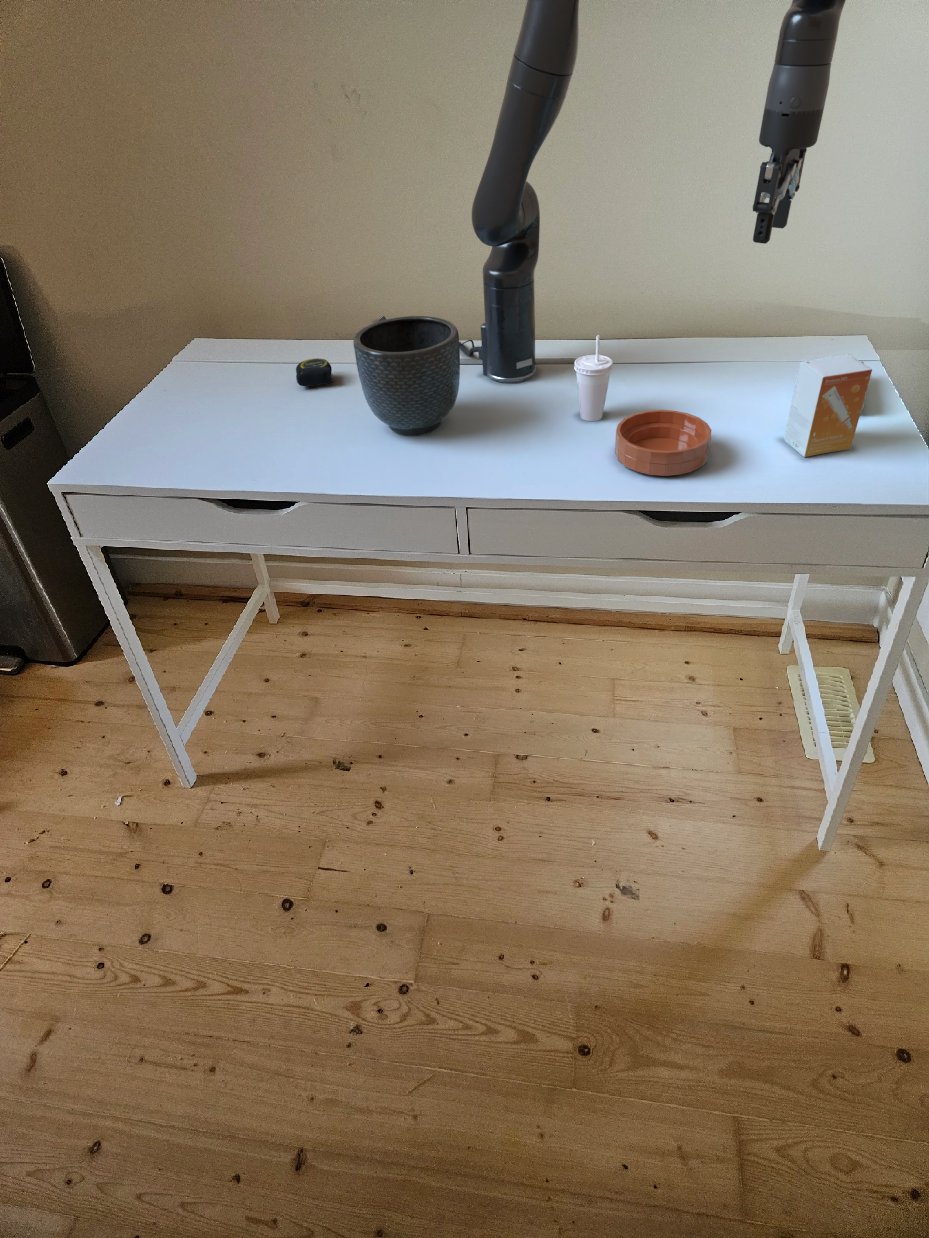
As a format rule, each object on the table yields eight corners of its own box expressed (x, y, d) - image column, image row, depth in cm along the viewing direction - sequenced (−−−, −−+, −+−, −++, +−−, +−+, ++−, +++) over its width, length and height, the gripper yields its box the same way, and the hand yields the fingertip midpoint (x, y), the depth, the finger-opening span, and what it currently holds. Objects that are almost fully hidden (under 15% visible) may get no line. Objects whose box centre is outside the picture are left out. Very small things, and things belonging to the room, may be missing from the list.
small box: (804, 458, 124) (822, 376, 116) (782, 440, 129) (798, 360, 121) (852, 450, 125) (873, 368, 117) (829, 432, 130) (848, 352, 122)
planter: (349, 441, 139) (333, 349, 129) (392, 399, 151) (381, 312, 141) (441, 453, 133) (433, 358, 123) (479, 408, 145) (473, 319, 135)
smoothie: (609, 425, 137) (613, 343, 128) (571, 424, 138) (572, 343, 129) (611, 408, 142) (616, 328, 133) (574, 407, 143) (576, 328, 134)
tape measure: (298, 391, 156) (294, 373, 154) (299, 377, 162) (295, 359, 159) (333, 387, 157) (330, 369, 154) (333, 373, 162) (330, 355, 160)
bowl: (599, 466, 127) (600, 440, 124) (637, 428, 135) (639, 403, 133) (687, 487, 120) (690, 460, 117) (720, 446, 129) (724, 420, 126)
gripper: (781, 95, 114) (758, 220, 124) (749, 111, 105) (728, 244, 115) (836, 97, 111) (808, 225, 121) (809, 114, 102) (781, 251, 112)
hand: (769, 234), depth 118 cm, fingers open, 8 cm apart
